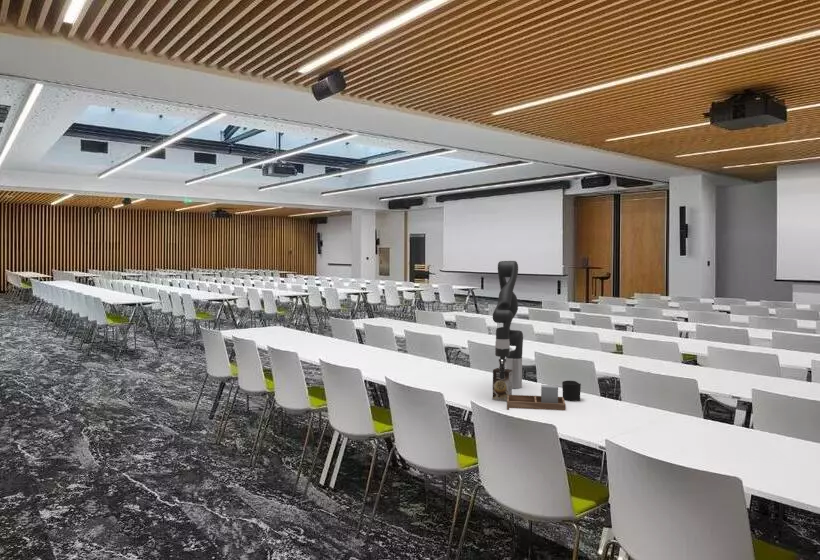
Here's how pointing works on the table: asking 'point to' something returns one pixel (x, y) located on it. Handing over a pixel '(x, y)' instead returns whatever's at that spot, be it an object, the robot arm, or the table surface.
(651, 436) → the table surface
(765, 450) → the table surface
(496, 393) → the coffee box
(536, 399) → the caddy
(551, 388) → the tea box
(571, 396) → the pen holder
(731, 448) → the table surface
